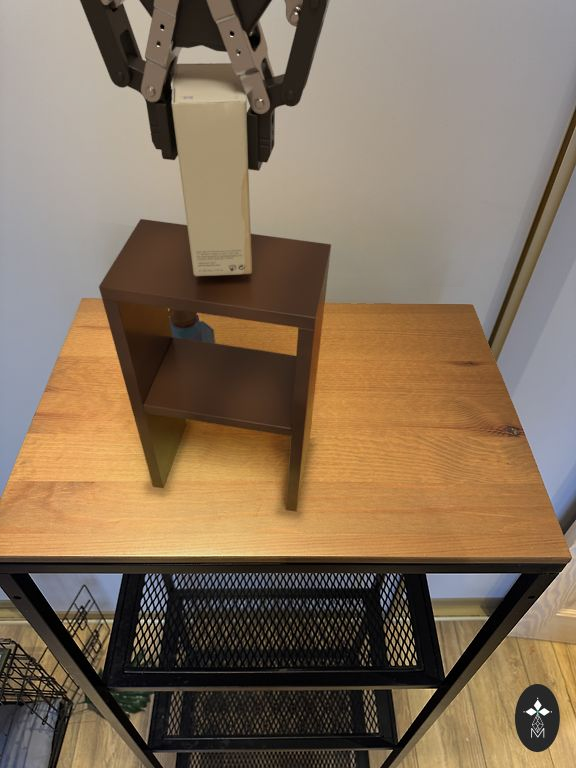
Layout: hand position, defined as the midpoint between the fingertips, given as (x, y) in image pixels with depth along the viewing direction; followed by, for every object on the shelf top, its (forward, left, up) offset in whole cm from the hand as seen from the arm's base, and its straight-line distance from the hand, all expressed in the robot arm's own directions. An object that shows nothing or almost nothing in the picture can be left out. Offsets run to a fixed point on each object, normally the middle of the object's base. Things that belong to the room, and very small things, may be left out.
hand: (214, 158), depth 37 cm
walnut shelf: (0, 0, -36) cm, 36 cm away
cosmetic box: (0, 0, -8) cm, 8 cm away
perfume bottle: (+8, -11, -37) cm, 39 cm away
